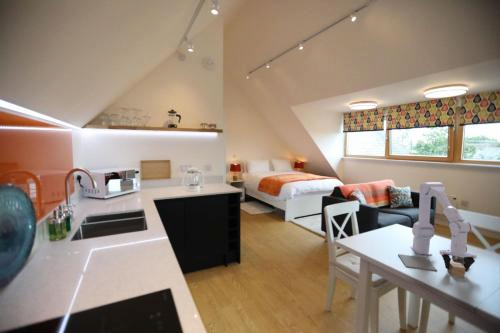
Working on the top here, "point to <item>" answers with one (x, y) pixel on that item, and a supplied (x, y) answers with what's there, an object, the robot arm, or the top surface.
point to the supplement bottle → (459, 259)
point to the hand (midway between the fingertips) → (456, 269)
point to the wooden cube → (456, 269)
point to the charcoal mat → (417, 262)
